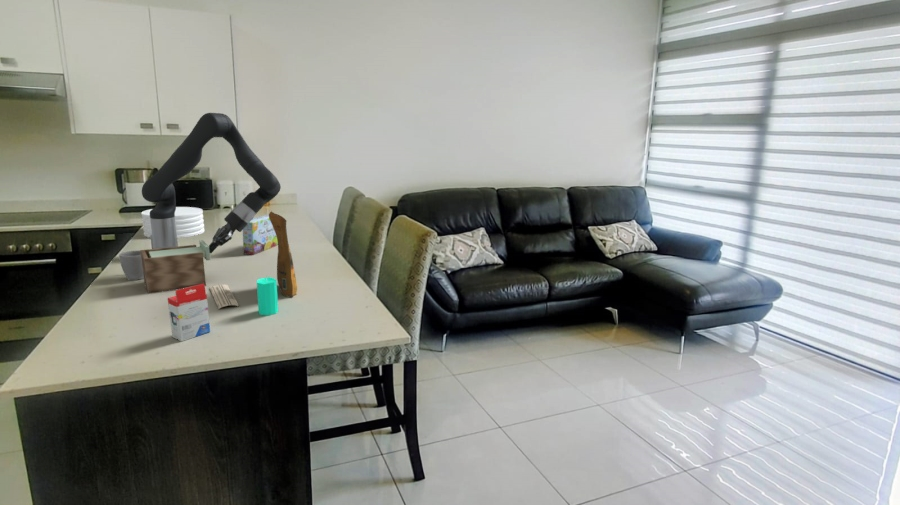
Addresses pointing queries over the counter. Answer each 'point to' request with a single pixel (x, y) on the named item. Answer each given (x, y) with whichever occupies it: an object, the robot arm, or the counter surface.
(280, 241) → the pancake mix bag
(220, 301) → the newspaper
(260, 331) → the counter surface
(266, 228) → the snack box
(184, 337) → the ink box
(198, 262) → the box
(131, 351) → the counter surface
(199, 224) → the plate stack
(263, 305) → the candle
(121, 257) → the mug
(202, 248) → the lid
